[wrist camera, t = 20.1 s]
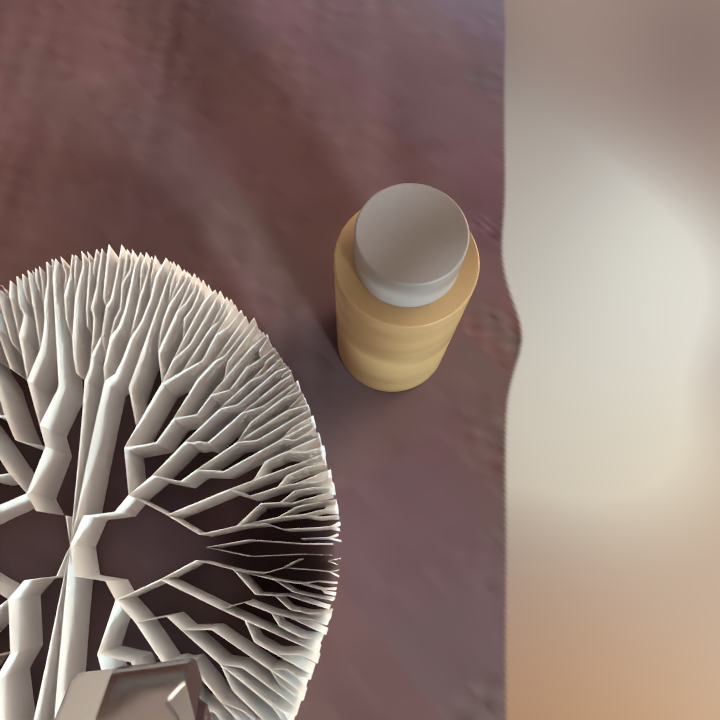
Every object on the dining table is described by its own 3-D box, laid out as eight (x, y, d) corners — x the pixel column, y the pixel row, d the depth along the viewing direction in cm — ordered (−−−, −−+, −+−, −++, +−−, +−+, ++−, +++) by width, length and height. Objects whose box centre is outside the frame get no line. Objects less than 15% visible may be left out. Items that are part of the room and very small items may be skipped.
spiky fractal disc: (346, 274, 33) (347, 249, 30) (333, 924, 24) (332, 968, 22) (-82, 265, 33) (-120, 239, 30) (-250, 922, 24) (-324, 967, 21)
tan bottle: (315, 329, 32) (300, 217, 22) (399, 272, 33) (424, 138, 23) (380, 413, 31) (398, 337, 20) (466, 350, 32) (524, 247, 21)
